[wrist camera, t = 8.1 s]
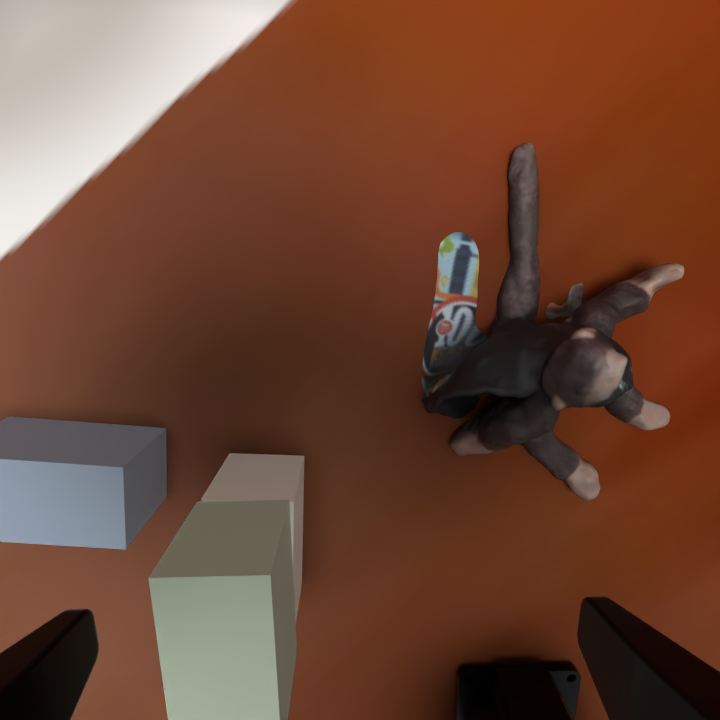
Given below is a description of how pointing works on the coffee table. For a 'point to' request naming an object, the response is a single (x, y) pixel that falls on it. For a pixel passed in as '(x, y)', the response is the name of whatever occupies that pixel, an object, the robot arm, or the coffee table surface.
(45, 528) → the slate brick
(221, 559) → the sage brick
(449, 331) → the stuffed animal
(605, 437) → the coffee table surface
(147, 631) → the coffee table surface
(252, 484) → the cream brick
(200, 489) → the coffee table surface
